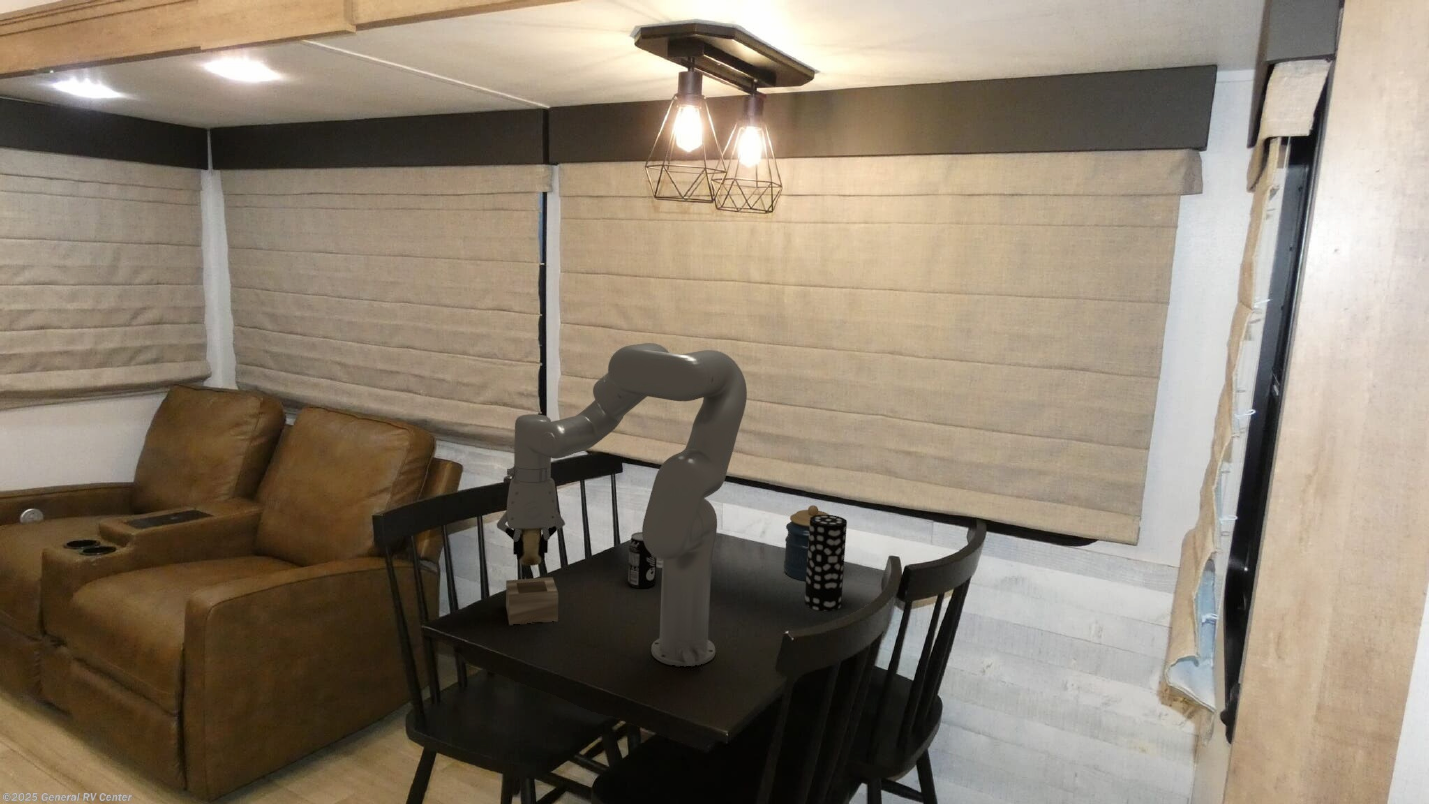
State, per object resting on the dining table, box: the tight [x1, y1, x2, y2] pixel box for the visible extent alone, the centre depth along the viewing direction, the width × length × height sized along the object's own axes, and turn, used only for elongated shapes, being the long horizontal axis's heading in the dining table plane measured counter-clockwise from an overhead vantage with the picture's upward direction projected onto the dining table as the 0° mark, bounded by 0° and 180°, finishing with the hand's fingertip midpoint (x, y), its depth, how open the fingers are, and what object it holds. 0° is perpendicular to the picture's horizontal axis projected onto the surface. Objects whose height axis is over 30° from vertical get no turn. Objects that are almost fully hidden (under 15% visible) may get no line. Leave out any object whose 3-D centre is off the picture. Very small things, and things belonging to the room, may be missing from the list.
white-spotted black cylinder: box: [804, 514, 848, 612], centre depth 193 cm, size 8×8×20 cm
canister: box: [783, 504, 830, 581], centre depth 212 cm, size 13×13×18 cm
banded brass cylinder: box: [519, 528, 543, 567], centre depth 180 cm, size 4×4×8 cm
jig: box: [505, 576, 559, 626], centre depth 181 cm, size 10×10×6 cm
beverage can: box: [627, 531, 657, 589], centre depth 200 cm, size 7×7×12 cm
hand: (530, 556), depth 180 cm, fingers closed on banded brass cylinder, 4 cm apart
